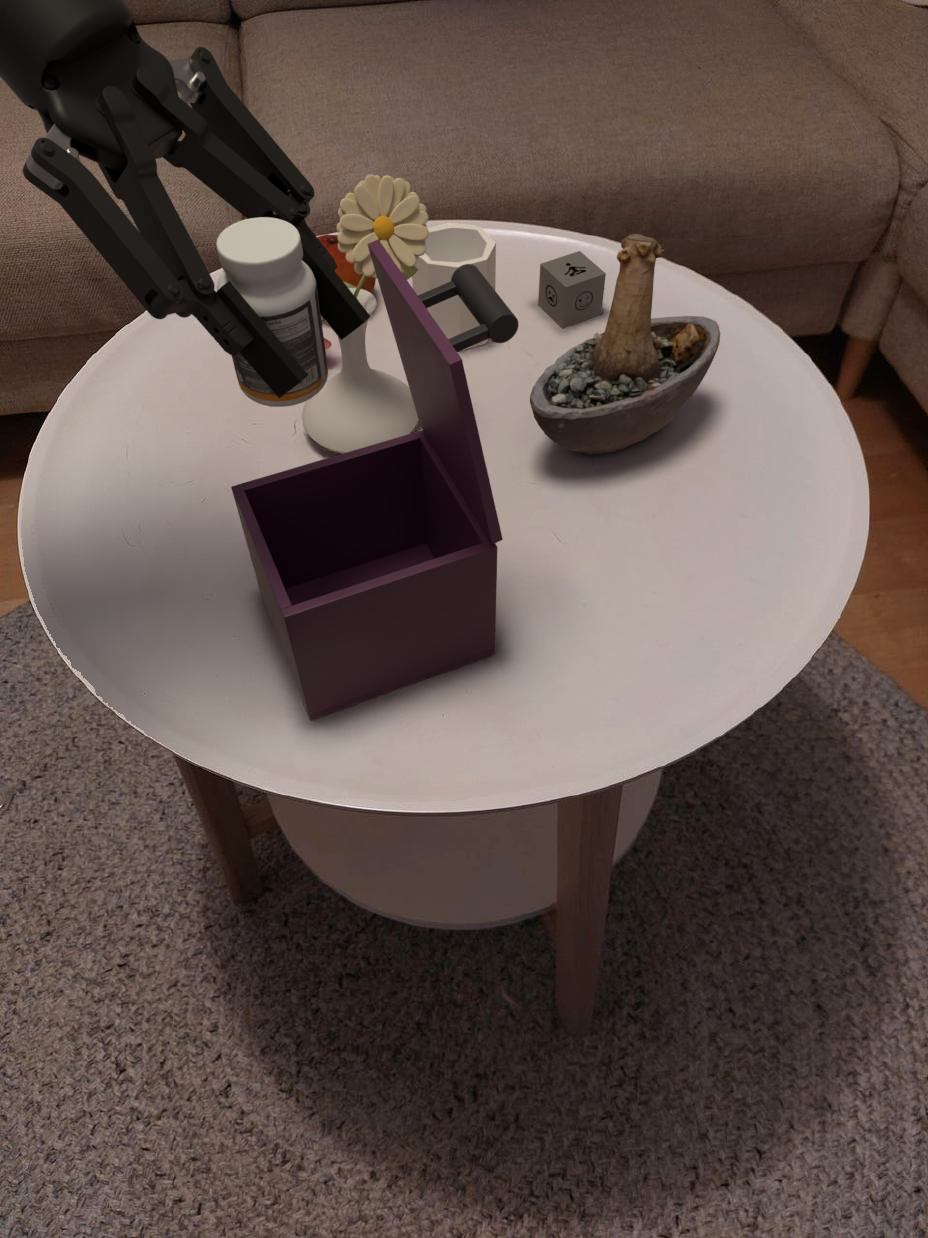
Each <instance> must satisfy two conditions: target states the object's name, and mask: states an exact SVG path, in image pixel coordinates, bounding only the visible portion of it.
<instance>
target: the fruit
mask: <svg viewBox="0 0 928 1238" xmlns="http://www.w3.org/2000/svg"><path fill="white" fill-rule="evenodd" d="M316 237H317V238H318V239H319V241H320V242H321V243H322V244H323V246H324V247H325V248H326V249H327V251H328V252H329V253H330V254H331V256H332V257H333V258H334V260H335V262H336V265H337V268H336V269H335V270H334V271H335V272H336V273H337V275H338V276H339V277H340V278H341V280H342V281H344V282H347V283H349V284H351V285H353V286H355V287H357V286H358V284H359V282H360V280H361V278H362V276H363V274H361V275H360V274H357V273H356V271H355V269H354V266H355V263H349V262H348V261H347V260H346V253H342V252H340V251H339V249H338V243H339V241H338V234H323V235H320V236H316ZM376 281H377V278H373V277H372V276H371V277H366V279H365V281H364V283H363V285H362V287H361V289H363V290H366V291H368V292H370V293H371V294H372V293H373V292H374V290H375V288H376V287H375V286H376ZM372 295H373V294H372Z"/></svg>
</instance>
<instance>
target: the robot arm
mask: <svg viewBox="0 0 928 1238" xmlns="http://www.w3.org/2000/svg"><path fill="white" fill-rule="evenodd" d="M0 78H1V79H2V80H3V82H4V83H5V85H7V86H8V87H9V89H10V90H11V91H12V92H13V93H14V94H15V96H16V97H17V98H18V99H19V100H20V102H21V103H23V105H24V106H26V107H28V108H29V109H31V110H34V111H37V113H38V114H39V117H40V118H41V121H42V123H43V127H44V130H45V132H46V134H45V135H44V136H43V137H39V138H37V139H36V140H35V141H34V143H33V146H32V148H31V150H30V152H29V154H28V156H27V158H26V160H25V162H24V164H23V167H22V174H23V177H24V178H25V179H26V180H27V181H28V182H29V183H30V184H31V185H33V186H34V187H36V188H37V189H38V190H40V191H41V192H42V193H44V194H45V195H46V196H48V197H49V198H51V199H52V200H53V201H54V202H56V203H58V204H59V205H60V206H61V208H62V209H63V211H64V212H65V213H66V214H67V215H68V217H70V219H71V220H72V221H73V223H74V224H75V225H76V226H77V227H78V228H79V230H80V231H81V232H82V233H83V235H84V236H85V237H86V238H87V239H88V241H89V242H90V244H92V245H93V247H94V248H95V249H96V250H97V252H98V253H99V254H100V255H101V257H102V258H103V259H104V260H105V262H106V263H107V264H108V265H109V266H110V268H111V269H112V270H113V271H114V272H115V274H116V275H117V276H118V277H119V279H120V280H121V281H122V283H124V285H125V286H126V287H127V288H128V290H129V291H130V292H131V293H132V294H133V295H134V297H135V298H136V299H137V301H138V302H139V303H140V304H141V305H142V307H143V308H144V309H145V311H147V313H148V315H150V316H151V317H152V318H154V319H156V320H163V319H166V318H167V317H168V316H169V315H174V314H176V316H178V317H181V318H183V319H184V318H189V317H191V315H192V316H193V317H194V318H195V319H196V320H197V321H198V322H199V323H200V325H201V326H202V327H203V328H204V329H205V330H206V331H207V332H208V334H209V336H211V337H212V338H213V339H214V341H215V342H216V343H218V345H219V346H220V347H221V348H222V350H223V351H224V352H225V353H227V354H229V355H230V356H231V357H232V356H233V357H234V356H235V355H237V354H238V353H240V354H241V355H242V356H243V357H244V358H245V359H246V361H247V362H248V363H249V364H250V365H251V366H252V368H253V369H254V370H255V371H256V372H257V373H258V374H259V376H260V377H261V378H262V379H263V380H264V381H265V383H266V384H267V385H268V386H269V387H270V388H271V390H272V391H273V392H274V393H275V394H276V395H277V396H278V398H280V397H282V396H283V395H284V394H286V393H287V392H288V391H290V390H291V389H292V388H294V387H295V386H296V385H298V384H299V383H300V382H302V381H303V380H304V379H305V378H306V377H307V376H308V374H307V373H306V371H305V370H304V369H303V368H302V367H301V365H300V364H299V363H298V362H297V361H296V360H295V358H294V357H293V356H292V355H291V354H290V352H289V351H288V350H287V349H286V348H285V346H284V345H283V344H282V343H281V342H280V341H279V339H278V338H277V337H276V336H275V335H274V333H273V332H272V331H271V330H270V329H269V328H268V326H267V325H266V324H265V323H264V322H263V320H262V319H261V318H260V317H259V316H258V314H257V313H256V312H255V311H254V310H253V309H252V307H251V306H250V305H249V304H248V303H247V301H246V300H245V299H244V298H243V297H242V295H241V294H240V293H239V292H238V291H237V290H236V288H235V287H234V286H233V285H232V284H231V282H230V281H228V282H227V283H226V284H224V285H223V286H222V287H221V288H220V289H219V290H218V291H217V290H216V289H215V287H216V286H215V281H214V280H213V278H212V276H211V274H210V272H209V270H208V269H207V267H206V265H205V262H204V261H203V259H202V257H201V255H200V253H199V251H198V249H197V247H196V245H195V244H194V241H193V240H192V238H191V236H190V233H189V232H188V230H187V228H186V227H185V225H184V222H183V220H182V219H181V216H180V215H179V213H178V211H177V209H176V207H175V205H174V203H173V200H172V199H171V198H170V195H169V194H168V192H167V190H166V188H165V186H164V184H163V182H162V180H161V179H160V177H159V175H158V164H157V160H159V159H161V158H163V159H164V160H165V161H166V162H168V163H169V164H170V165H171V166H173V167H174V168H177V169H179V168H180V169H181V168H183V169H185V170H186V171H188V172H189V173H190V174H191V175H193V176H194V177H195V178H196V179H197V180H198V181H200V182H201V183H203V185H205V186H206V187H207V188H209V189H210V190H211V191H212V192H214V193H215V194H216V195H217V196H219V198H221V199H222V200H224V201H225V202H226V203H227V204H228V205H230V206H231V207H232V208H234V209H235V210H236V211H237V212H238V213H240V214H241V215H242V216H243V217H245V218H246V219H250V218H258V217H270V218H277V219H281V220H284V221H286V222H288V223H290V224H292V225H293V226H294V227H295V228H296V229H297V230H298V232H299V234H300V238H301V244H302V249H303V258H302V261H303V262H305V263H306V264H307V265H308V266H309V268H310V269H311V271H312V272H313V274H314V277H315V280H316V284H317V292H318V300H319V307H320V314H321V316H322V317H323V318H324V319H323V320H324V321H325V322H326V324H327V325H328V326H329V327H330V328H331V329H332V331H333V332H334V333H335V334H336V336H337V338H338V337H339V338H340V339H341V340H342V339H344V338H345V337H346V336H348V335H349V334H350V333H352V332H353V331H354V330H356V329H357V328H358V327H359V326H361V325H362V324H363V323H365V322H366V321H367V320H368V321H369V319H370V318H371V317H372V315H371V316H370V315H369V314H368V312H367V311H366V310H365V309H364V307H363V306H362V305H361V304H360V302H359V301H358V300H357V298H356V297H355V296H354V295H353V293H352V292H351V291H350V290H349V288H348V287H347V286H346V285H345V283H344V282H343V281H342V280H341V278H340V277H339V276H338V275H337V273H336V272H335V271H334V270H335V269H336V268H337V265H336V262H335V260H334V258H333V257H332V256H331V254H330V253H329V252H328V251H327V249H326V248H325V247H324V246H323V244H322V243H321V242H320V241H319V239H318V238H317V237H318V236H316V234H315V233H314V232H313V230H312V229H311V228H310V226H309V225H308V224H307V222H306V218H307V217H308V216H309V215H310V214H311V206H310V204H309V203H310V202H311V201H312V200H313V198H314V197H315V193H316V192H315V189H314V187H313V185H312V184H311V183H310V182H309V180H308V179H307V178H306V177H305V176H304V174H303V173H302V172H301V170H299V167H297V166H296V165H295V163H294V162H293V161H292V160H291V158H290V157H289V156H288V155H287V154H286V153H285V151H284V150H283V149H282V148H281V147H280V145H278V143H277V142H276V141H275V140H274V138H273V137H272V136H271V135H270V134H269V132H268V131H267V130H266V129H265V128H264V126H263V125H262V124H261V123H260V122H259V120H258V119H257V118H256V116H254V114H253V113H252V112H251V111H250V110H249V108H248V107H247V106H246V104H244V103H243V101H242V100H241V99H240V98H239V96H238V95H237V94H236V92H234V91H233V90H232V88H231V87H230V86H229V85H228V83H227V81H226V79H225V76H224V74H223V73H222V71H221V69H220V67H219V65H218V63H217V61H216V59H215V57H214V55H213V54H212V52H211V51H210V50H209V49H208V48H205V47H203V46H198V47H196V48H195V49H194V51H193V52H192V54H191V56H190V57H188V58H180V59H173V60H169V59H168V58H167V57H166V56H165V55H164V54H163V53H162V52H160V51H158V50H157V49H155V48H154V47H152V46H151V45H150V44H148V43H147V42H146V41H145V40H144V39H143V38H142V36H141V35H140V33H139V31H138V29H137V26H136V22H135V20H134V17H133V14H132V11H131V8H129V6H128V5H127V4H126V2H125V1H124V0H0ZM179 94H180V95H181V96H180V97H179ZM183 134H184V136H183V138H182V139H181V140H180V138H181V136H182V135H183ZM80 156H81V157H82V158H85V159H88V160H89V161H92V162H94V163H96V164H97V165H98V167H99V169H100V171H101V173H102V174H103V176H104V178H105V180H106V182H107V184H108V186H109V188H110V189H111V191H112V193H113V195H114V196H115V198H116V199H117V200H121V201H122V202H123V204H124V205H125V208H126V209H127V211H128V213H129V215H130V217H131V219H132V221H133V222H134V224H135V225H134V224H133V222H132V221H131V220H130V218H128V216H127V215H126V213H125V212H124V211H123V210H122V209H121V207H120V206H119V205H118V203H117V202H116V201H115V200H114V198H113V197H112V196H111V194H109V192H108V191H107V189H106V188H105V187H104V186H103V185H102V184H101V182H100V181H99V180H98V179H97V177H96V176H95V175H94V174H93V173H92V172H91V171H90V170H89V169H88V167H86V166H85V165H84V163H82V161H81V159H80Z"/></svg>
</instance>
